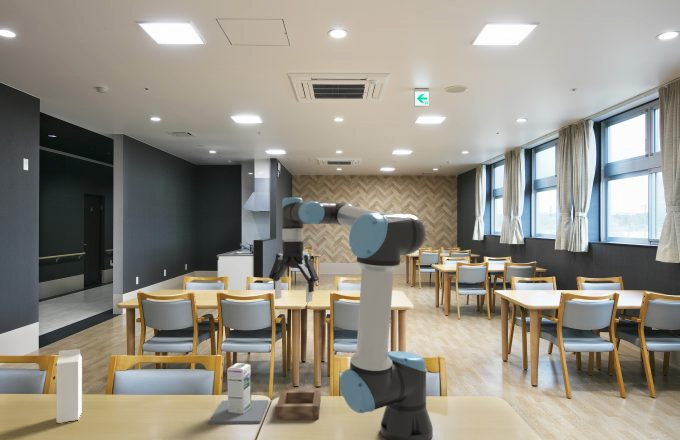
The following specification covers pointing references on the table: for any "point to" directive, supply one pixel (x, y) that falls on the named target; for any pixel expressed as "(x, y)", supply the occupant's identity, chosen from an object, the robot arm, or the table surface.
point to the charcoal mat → (249, 416)
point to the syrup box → (239, 388)
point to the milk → (69, 385)
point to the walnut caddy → (298, 404)
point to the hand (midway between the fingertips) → (293, 300)
